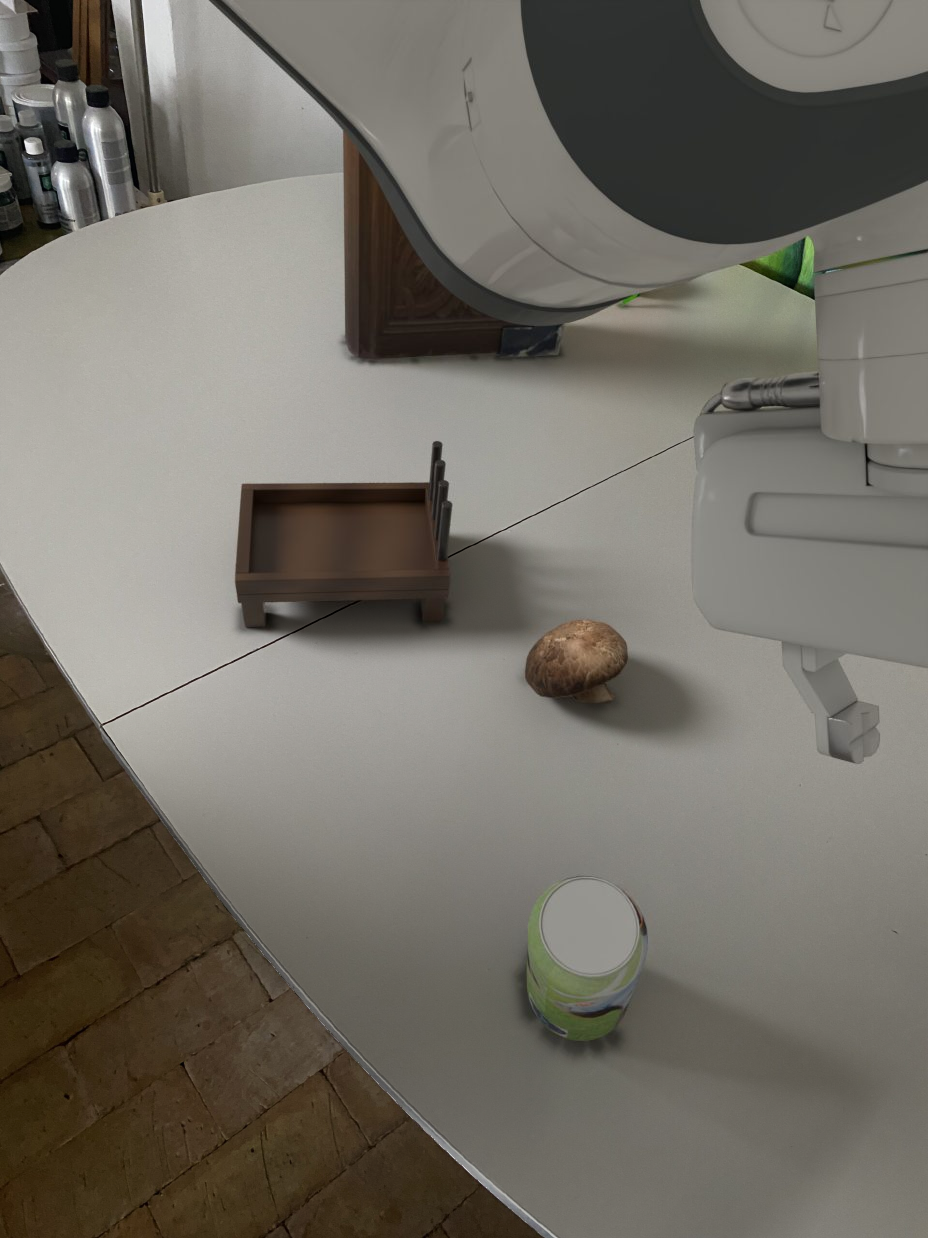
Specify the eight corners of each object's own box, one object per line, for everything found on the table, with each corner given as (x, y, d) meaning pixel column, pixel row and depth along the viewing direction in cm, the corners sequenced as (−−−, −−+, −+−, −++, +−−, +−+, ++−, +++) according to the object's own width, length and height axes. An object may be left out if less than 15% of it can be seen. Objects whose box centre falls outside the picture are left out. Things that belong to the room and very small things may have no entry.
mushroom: (657, 704, 63) (629, 630, 60) (554, 747, 63) (523, 675, 61) (626, 660, 70) (601, 593, 68) (535, 698, 70) (506, 633, 68)
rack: (241, 629, 68) (225, 525, 60) (247, 532, 75) (234, 427, 67) (445, 623, 70) (456, 522, 62) (432, 529, 77) (441, 428, 69)
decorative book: (540, 321, 103) (591, 24, 80) (558, 355, 98) (618, 50, 76) (341, 330, 98) (337, 15, 75) (351, 366, 93) (350, 42, 71)
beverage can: (644, 1008, 52) (704, 928, 43) (548, 1082, 49) (590, 1014, 40) (578, 920, 55) (621, 829, 46) (483, 985, 52) (509, 900, 43)
